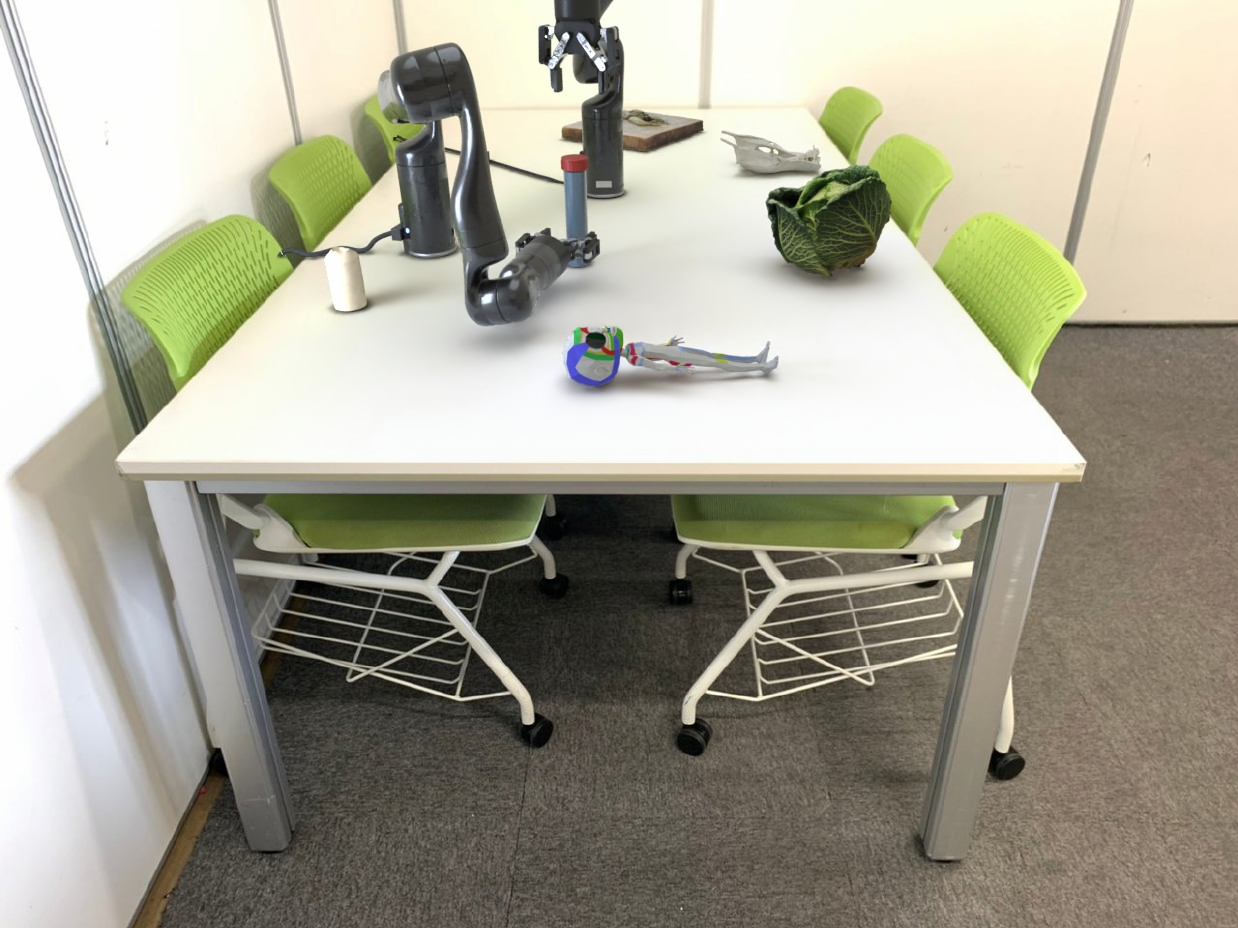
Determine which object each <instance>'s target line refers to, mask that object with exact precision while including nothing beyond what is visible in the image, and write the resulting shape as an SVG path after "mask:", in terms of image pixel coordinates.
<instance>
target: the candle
mask: <svg viewBox="0 0 1238 928" xmlns="http://www.w3.org/2000/svg"><path fill="white" fill-rule="evenodd" d="M331 248H332V247H331ZM324 262H325V269H326V273H327V278H328V284H329V289H330V295H331V298H332V304H333V307H334V309H335V310H337V311H340V312H352V311H358V310H361V309H363V308H365V307H366V306H367V304H368V300H367V294H366V288H365V282H364V276H363V271H362V264H361V260H360V253H356V252H355V251H353V250H351V249H347V248H344V247H337V246H333V248H332V249H331V250H330V252H329V253H328V254H326V255H325V257H324Z"/></svg>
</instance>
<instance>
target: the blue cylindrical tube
mask: <svg viewBox="0 0 1238 928" xmlns="http://www.w3.org/2000/svg"><path fill="white" fill-rule="evenodd" d="M562 171H563V170H562ZM562 173H563V182H564V184H563V188H564V189H563V194H564V213H565V214H564V215H565V217H564V218H565V235H566V236H565V237H566V238H565V239H569V238H573V237H578V238H584V237H585V236H586V235H587V234H588V233H589V217H588V213H589V212H588V196H587V183H586V170H584V171H580V172H567V171H563V172H562ZM571 244H572V245H573V246H574V243H571ZM583 246H585V243H582V245H581V247H582V249H583ZM589 264H590V263H587V264H586V263H583V258H576V259H575V260H573V261H570V262H569V264H568V266H569V267H572V268H583V267H587V266H589Z"/></svg>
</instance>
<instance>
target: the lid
mask: <svg viewBox="0 0 1238 928" xmlns="http://www.w3.org/2000/svg"><path fill="white" fill-rule="evenodd" d="M560 169H561V171H567V172H580V171H584V170H587V169H588V157H587V156H586V155H581V154H579V153H570V154H564V155H562V156H561V157H560Z"/></svg>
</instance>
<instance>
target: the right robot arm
mask: <svg viewBox="0 0 1238 928" xmlns="http://www.w3.org/2000/svg"><path fill="white" fill-rule="evenodd" d="M613 2H614V0H553V9H554V18H555V24H554V26H553V25H551V24H548V23H547V24H542V25H539V26H538V29H537V30H538V32H537V33H538V34H537V36H538V37H537V38H538V43H537V44H538V45H537V46H538V47H537V48H538V64H540V65H544V66H546V67H548V69H549V75H550V77H549V78H550V87H551V89H553V92H554V93H558V94H559V93H561V92H563V90H564V80H563V68H562V67H561V66H562V63H563V62H564V60H565V58H566V57H568V55H569V56H571V57H572V58H571V59H572V60H571V61H572V62H571V63H572V74H573V76H574V79H575V81H576V82H577V83H579V84H583V85H595V84H597V87H598V93H596V94H595V95H594V96H592V97H590V98H588V99H586V100H584V101H583V102H582V103H581V109H580V112H581V121H582V140H583V142H582V150H580V151H579V153H578V154H581V155H586V156H587V157H588V169H587V170H586V183H587V197H589V198H595V199H612V198H617V197H620V196H622V195H624V193H625V188H624V186H625V183H624V181H625V180H624V175H625V174H624V173H625V172H624V148H623V110H624V88H625V87H624V83H625V49H624V45H623V41H622V40H621V39H620V29H619V27H618V26H617V25H614V26H610V27H602V24H601V20H602V17H603V16H604V14H605V13H606V11H607V10H608V9H609V7H610V6H611V4H612V3H613ZM554 36H555V38H556V40H557V41H558V44H557V46H556V47H555V49H554V50H553V54H552V40H553V39H554ZM396 135H397V137H394V136H392V139H393V140H392V141H396V140H397V139H399V140H400V141H402V142H404V141H406V140H408V139H409V138H405V137H403V136H401V135H400V134H396ZM444 148H445V152H450V153H453V154H454V153H455V154H457V155H460V153H461V150H457V149H454V148H450V147H446V146H444ZM488 160H489V164H492V165H496V166H499V167H501V168H506V169H509V170H512V171H515V172H518V173H522V174H524V175H528V176H532V177H535V178H538V179H542V180H545V181H548V182H552V183H555V184H562V185H564V180H563V181H562V180H559V179H557V178H553V177H551V176H547V175H544V174H539V173H537V172H532V171H529V170H527V169H522V168H519V167H516V166H513V165H509V164H506V163H503V162H500V161H496V160H494V159H491V158H490V159H488Z"/></svg>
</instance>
